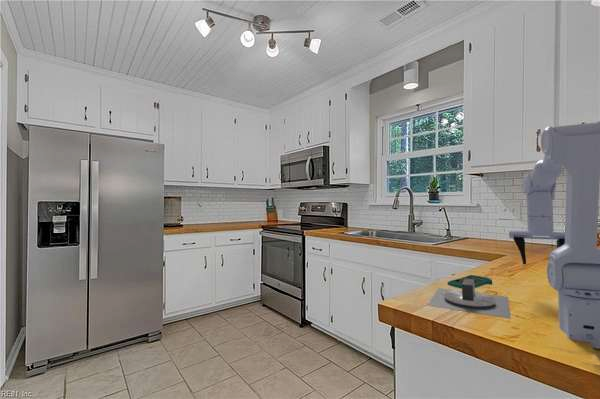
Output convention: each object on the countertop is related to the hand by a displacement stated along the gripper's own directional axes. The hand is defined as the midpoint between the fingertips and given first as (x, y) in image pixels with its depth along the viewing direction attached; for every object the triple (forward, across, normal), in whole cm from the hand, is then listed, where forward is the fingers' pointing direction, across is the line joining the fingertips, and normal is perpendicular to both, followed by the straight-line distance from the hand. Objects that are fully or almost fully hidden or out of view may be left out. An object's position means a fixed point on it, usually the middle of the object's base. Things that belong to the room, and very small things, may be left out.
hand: (541, 264), depth 84 cm
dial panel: (+10, +17, +15) cm, 25 cm away
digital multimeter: (+10, +18, -5) cm, 22 cm away
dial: (+9, +17, +15) cm, 24 cm away
